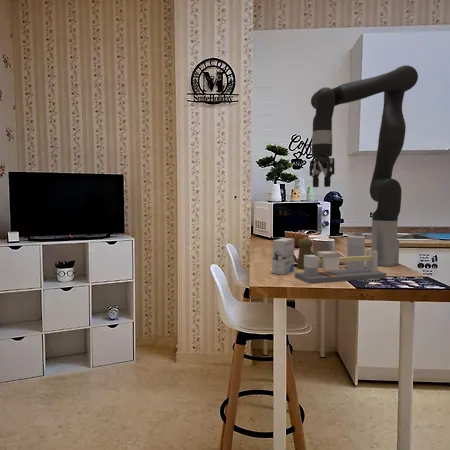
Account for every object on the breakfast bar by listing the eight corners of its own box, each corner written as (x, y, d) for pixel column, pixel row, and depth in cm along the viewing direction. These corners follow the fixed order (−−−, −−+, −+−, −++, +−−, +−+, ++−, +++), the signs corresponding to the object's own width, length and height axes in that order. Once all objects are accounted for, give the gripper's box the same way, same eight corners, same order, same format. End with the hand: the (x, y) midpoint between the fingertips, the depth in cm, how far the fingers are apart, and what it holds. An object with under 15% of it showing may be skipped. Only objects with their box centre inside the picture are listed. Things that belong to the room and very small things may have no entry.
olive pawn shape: (313, 269, 150) (313, 239, 149) (296, 269, 151) (296, 239, 150) (313, 266, 156) (313, 238, 155) (296, 266, 157) (297, 237, 156)
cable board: (367, 272, 145) (367, 248, 144) (386, 278, 136) (386, 252, 135) (295, 277, 137) (295, 251, 136) (309, 283, 128) (309, 256, 127)
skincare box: (364, 268, 153) (365, 236, 152) (364, 270, 149) (365, 237, 148) (347, 267, 155) (347, 235, 154) (346, 269, 151) (347, 236, 150)
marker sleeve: (329, 265, 138) (329, 250, 138) (339, 268, 132) (339, 253, 132) (315, 266, 137) (315, 251, 136) (325, 269, 131) (325, 254, 131)
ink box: (281, 269, 151) (282, 237, 150) (294, 271, 148) (295, 238, 147) (271, 273, 143) (271, 240, 142) (285, 275, 141) (285, 240, 140)
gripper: (341, 141, 149) (340, 186, 151) (321, 146, 163) (320, 187, 164) (322, 141, 147) (322, 186, 148) (304, 145, 161) (303, 187, 162)
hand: (321, 187), depth 156 cm, fingers open, 8 cm apart
